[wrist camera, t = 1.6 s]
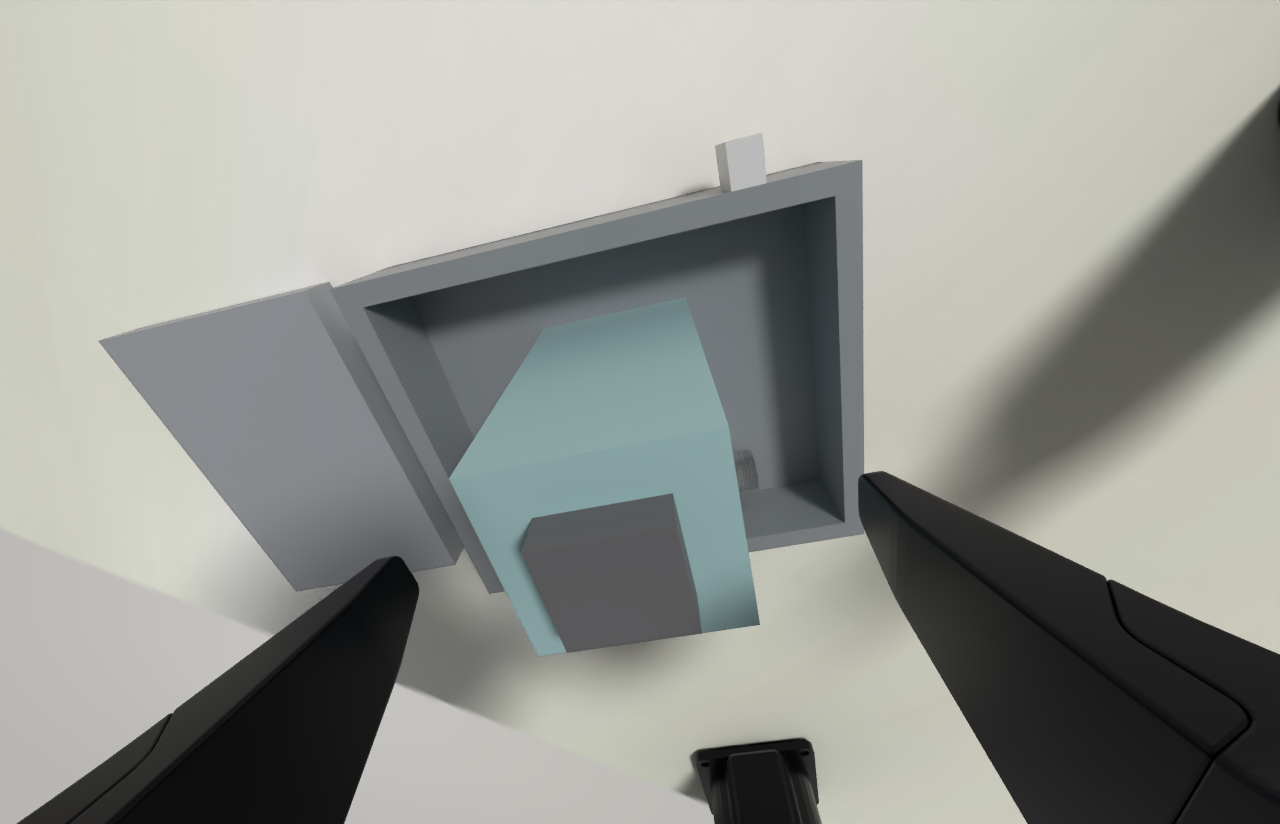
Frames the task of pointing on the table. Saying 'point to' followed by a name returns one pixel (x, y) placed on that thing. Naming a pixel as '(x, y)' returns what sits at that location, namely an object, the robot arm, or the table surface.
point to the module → (612, 487)
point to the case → (642, 276)
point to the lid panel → (292, 434)
